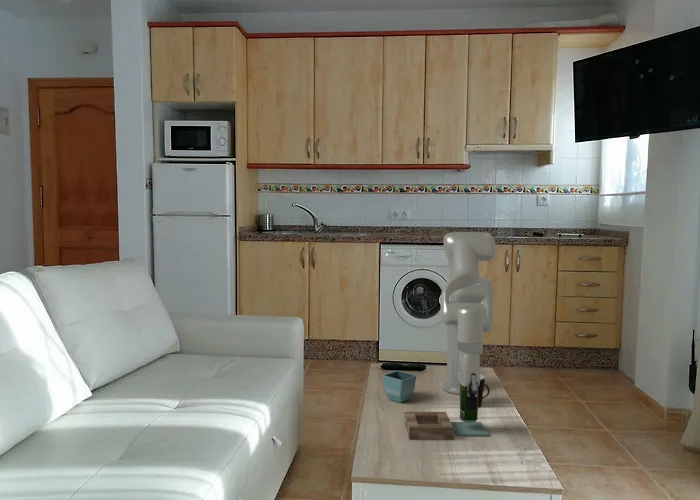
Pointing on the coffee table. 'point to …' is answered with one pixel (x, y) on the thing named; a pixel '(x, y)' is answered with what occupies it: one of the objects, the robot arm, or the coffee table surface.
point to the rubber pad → (469, 429)
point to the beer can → (465, 414)
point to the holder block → (428, 426)
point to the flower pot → (399, 385)
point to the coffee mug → (480, 390)
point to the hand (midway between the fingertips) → (468, 405)
